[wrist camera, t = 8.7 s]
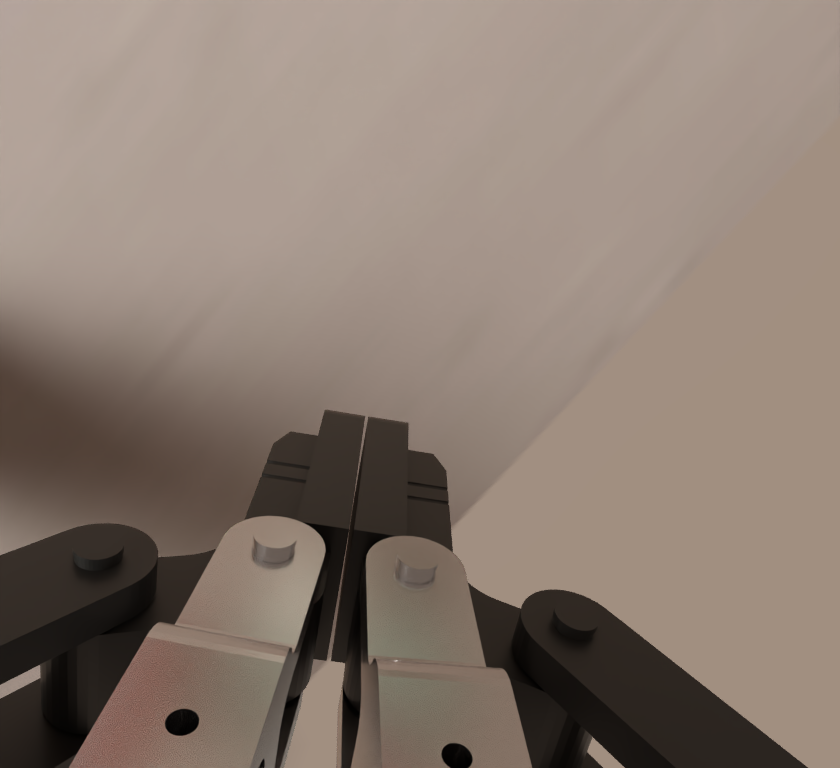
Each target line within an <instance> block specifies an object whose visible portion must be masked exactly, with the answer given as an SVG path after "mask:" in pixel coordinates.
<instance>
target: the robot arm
mask: <svg viewBox="0 0 840 768" xmlns="http://www.w3.org/2000/svg"><path fill="white" fill-rule="evenodd" d="M364 420H365V416H361V415H355V414H349V413H343V412H336V411H330V410H325V412H324V416H323V419H322V423H321V427H320V431H319V435H318V436H315V435H309V434H302V433H296V432H290V433H288V434H287V435H285V436H284V437H282V438H281V439H280V440H278V441H277V442H275V443H274V444H273V446H272V449H271V452H270V454H269V457H268V460H267V463H266V465H265V467H264V470H263V473H262V477H261V478H260V481H259V483H258V486H257V489H256V491H255V494H254V497H253V499H252V502H251V505H250V507H249V510H248V512H247V515H246V518H245V520H244V521H241V522H239V523H237V524H235V525H234V526H232V527H231V528H230V529H229V530H228V531H227V532H226V533H225V535H224V536H223V538H222V540H221V542H220V543H219V545H218V547H217V549H214V550H211V551H208V552H205V553H200V554H195V555H186V556H173V557H158V550H157V546H156V544H155V543H154V541H153V540H152V539H151V538H150V537H149V536H148V535H147V534H145V533H144V532H142V531H140V530H138V529H135V528H132V527H129V526H125V525H119V524H91V525H85V526H80V527H76V528H73V529H70V530H67V531H64V532H62V533H59V534H56V535H54V536H51V537H48V538H46V539H43V540H40V541H38V542H35V543H32V544H30V545H27V546H24V547H22V548H19V549H16V550H14V551H11V552H8V553H6V554H3V555H0V685H1V684H3V683H5V682H6V681H8V680H10V679H12V678H14V677H16V676H18V675H20V674H22V673H24V672H26V671H28V670H30V669H32V668H34V667H36V666H38V665H40V672H41V678H40V679H38V680H36V681H34V682H32V683H30V684H28V685H26V686H24V687H22V688H20V689H18V690H16V691H15V692H13V693H11V694H9V695H7V696H5V697H3V698H1V699H0V768H284V765H285V761H286V757H287V753H288V750H289V746H290V743H291V739H292V736H293V732H294V729H295V725H296V721H297V718H298V713H299V710H300V707H301V701H302V695H303V690H304V689H305V688H306V686H307V684H308V682H309V679H310V675H311V670H312V664H313V659H318V660H325V661H326V660H327V654H328V649H329V643H330V637H331V631H332V625H333V620H334V614H335V608H336V602H337V596H338V591H339V585H340V579H341V573H342V567H343V562H344V556H345V550H346V544H347V551H346V558H345V565H344V572H343V579H342V586H341V593H340V600H339V608H338V615H337V622H336V629H335V636H334V643H333V650H332V657H331V661H335V662H343V663H345V672H344V680H343V685H342V690H341V696H340V701H339V707H338V727H337V728H338V729H337V766H336V767H337V768H603V767H602V766H601V765H599V764H598V762H597V761H596V760H595V759H594V758H593V757H591V756H590V755H589V754H588V753H587V750H588V747H589V744H590V742H591V739H592V737H593V738H594V739H595V740H596V741H598V742H599V743H600V744H601V745H602V746H603V747H604V748H605V749H606V750H607V751H608V752H609V753H610V754H611V755H612V756H613V757H614V758H615V759H616V760H618V762H620V763H621V764H622V765H623V766H624V767H625V768H808V767H806V766H805V765H804V764H802V763H801V762H800V761H799V760H797V759H796V758H795V757H793V756H792V755H791V754H790V753H788V752H787V751H786V750H785V749H783V748H782V747H781V746H780V745H778V744H777V743H776V742H774V741H773V740H772V739H771V738H769V737H768V736H767V735H766V734H764V733H763V732H762V731H761V730H759V729H758V728H757V727H755V726H754V725H753V724H752V723H750V722H749V721H748V720H747V719H745V718H744V717H743V716H741V715H740V714H739V713H738V712H736V711H735V710H734V709H733V708H731V707H730V706H728V705H727V704H726V703H725V702H723V701H722V700H721V699H720V698H719V697H717V696H716V695H715V694H713V693H712V692H711V691H710V690H708V689H707V688H706V687H705V686H703V685H702V684H701V683H700V682H698V681H697V680H695V679H694V678H693V677H692V676H691V675H689V674H688V673H687V672H686V671H684V670H683V669H682V668H680V667H679V666H678V665H676V664H675V663H674V662H673V661H672V660H670V659H669V658H668V657H666V656H665V655H664V654H663V653H661V652H660V651H659V650H658V649H656V648H655V647H654V646H652V645H651V644H650V643H649V642H647V641H646V640H644V639H643V638H642V637H641V636H640V635H639V634H637V633H636V632H634V631H633V630H632V629H631V628H630V627H628V626H627V625H626V624H625V623H623V622H622V621H621V620H619V619H618V618H617V617H615V616H614V615H613V614H612V613H610V612H609V611H608V610H607V609H605V608H604V607H603V606H601V605H600V604H598V603H597V602H595V601H593V600H591V599H589V598H586V597H585V596H582V595H579V594H576V593H573V592H569V591H564V590H544V591H539V592H536V593H534V594H532V595H531V596H529V597H528V598H527V599H526V600H525V601H524V603H523V605H522V608H521V609H520V608H517V607H514V606H512V605H509V604H507V603H504V602H501V601H499V600H496V599H494V598H491V597H489V596H487V595H485V594H483V593H482V592H480V591H478V590H477V589H476V588H474V587H473V586H471V585H470V584H469V583H468V581H467V577H466V572H465V569H464V566H463V564H462V563H461V561H460V560H459V558H458V557H457V556H456V555H455V554H454V553H453V549H452V537H451V525H450V512H449V505H448V502H449V500H448V491H447V476H446V470H445V469H444V467H443V466H442V465H441V463H440V462H439V461H438V460H437V458H436V457H435V456H434V454H430V453H424V452H417V451H411V450H408V423H405V422H399V421H393V420H387V419H381V418H374V417H368V422H367V428H366V433H365V439H364V445H363V451H362V457H361V462H360V468H359V474H358V480H357V485H356V491H355V484H356V477H357V470H358V463H359V456H360V449H361V441H362V434H363V427H364ZM354 491H355V497H354ZM353 498H354V503H353ZM352 505H353V509H352ZM351 512H352V516H351ZM350 519H351V522H350ZM349 526H350V529H349ZM348 533H349V536H348ZM347 538H348V543H347Z"/></svg>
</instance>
